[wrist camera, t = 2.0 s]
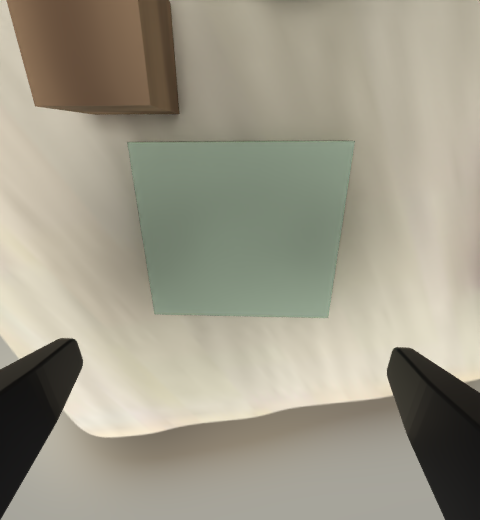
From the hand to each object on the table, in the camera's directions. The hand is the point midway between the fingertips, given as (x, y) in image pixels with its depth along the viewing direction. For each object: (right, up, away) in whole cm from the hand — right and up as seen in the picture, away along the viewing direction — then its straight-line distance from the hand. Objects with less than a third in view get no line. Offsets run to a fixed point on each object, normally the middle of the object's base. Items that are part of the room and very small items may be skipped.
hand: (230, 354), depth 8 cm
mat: (0, +4, +11) cm, 12 cm away
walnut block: (-6, +14, +7) cm, 16 cm away
